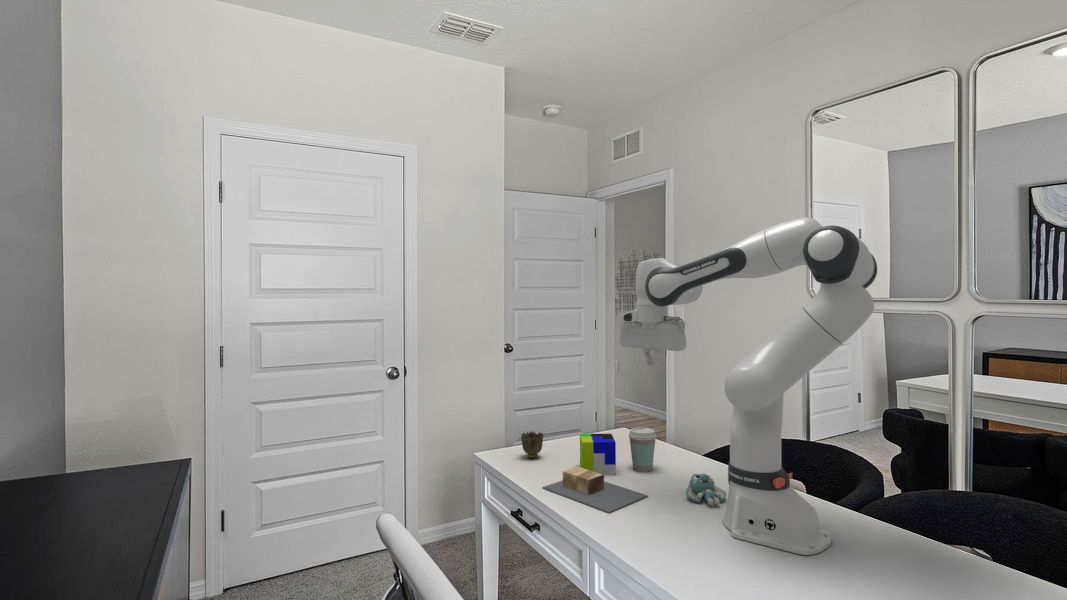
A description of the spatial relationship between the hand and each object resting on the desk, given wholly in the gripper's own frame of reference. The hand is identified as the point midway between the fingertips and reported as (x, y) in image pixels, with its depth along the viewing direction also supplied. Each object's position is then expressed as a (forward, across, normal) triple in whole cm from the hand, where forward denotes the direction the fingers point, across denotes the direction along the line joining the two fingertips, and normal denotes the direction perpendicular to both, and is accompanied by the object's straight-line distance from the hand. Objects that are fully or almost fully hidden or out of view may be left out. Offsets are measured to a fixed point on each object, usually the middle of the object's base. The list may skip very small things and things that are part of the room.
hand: (652, 365), depth 153 cm
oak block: (+32, +7, +16) cm, 36 cm away
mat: (+34, +8, +16) cm, 38 cm away
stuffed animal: (+34, -16, -2) cm, 38 cm away
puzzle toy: (+34, +20, +1) cm, 40 cm away
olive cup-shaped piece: (+34, +43, +7) cm, 55 cm away
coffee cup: (+34, +11, -10) cm, 37 cm away
